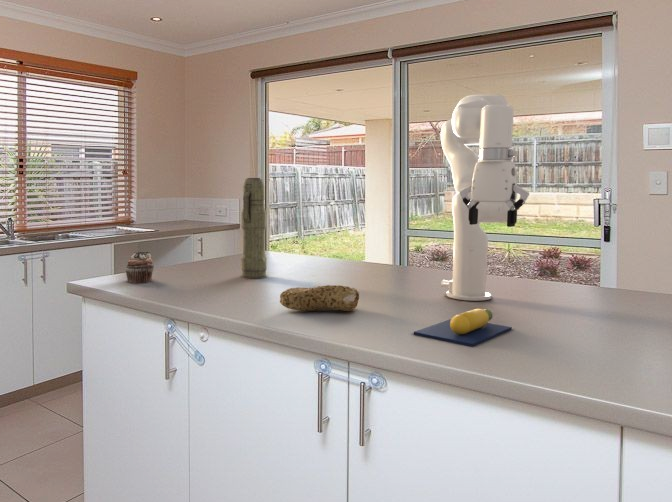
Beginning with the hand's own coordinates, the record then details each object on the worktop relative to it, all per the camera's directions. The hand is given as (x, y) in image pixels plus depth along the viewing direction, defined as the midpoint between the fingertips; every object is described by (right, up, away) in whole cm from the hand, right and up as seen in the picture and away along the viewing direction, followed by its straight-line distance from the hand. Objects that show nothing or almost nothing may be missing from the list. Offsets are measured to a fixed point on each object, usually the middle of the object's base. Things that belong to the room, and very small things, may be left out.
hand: (491, 225), depth 150 cm
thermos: (-62, -16, +64) cm, 90 cm away
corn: (-10, -24, -12) cm, 29 cm away
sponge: (-42, -22, +9) cm, 49 cm away
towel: (-11, -25, -13) cm, 30 cm away
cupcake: (-100, -17, +54) cm, 115 cm away
